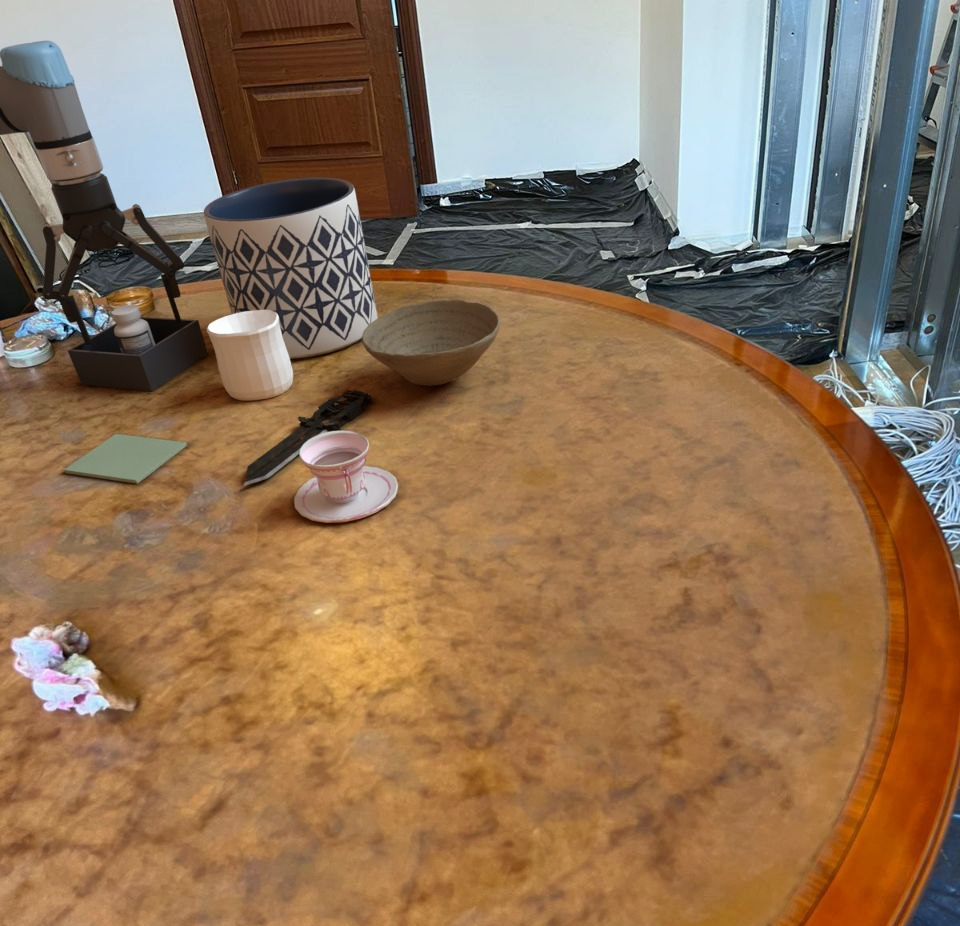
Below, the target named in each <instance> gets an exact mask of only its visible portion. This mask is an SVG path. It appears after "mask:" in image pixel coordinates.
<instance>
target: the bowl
mask: <svg viewBox="0 0 960 926" xmlns="http://www.w3.org/2000/svg"><path fill="white" fill-rule="evenodd" d="M500 327H501V318H500V316H499V314H498V313H497V312H496V311H495V310H494V309H493V308H491V307H490V306H487V305H485V304H481V303H479V302H469V301H468V302H467V301H465V300H460V299H450V300H445V299H439V300H438V299H437V300H428V301H424V302H423V301H422V302H418V303H414V304H409V305H405V306H403V307H399V308H396V309H393V310H391V311H388V312H387V313H384V314H382V315H381V316H378V319H376V320H375V321H373V322H372V323H371V324H370V325H369V326H368V327H367V328H366V329H365V330H364V332H363V336H362V339H361V343H362V345H363V347H364V349H365V351H366V352H367V353H368V354H369V355H370V356H372V357H373V358H374V359H375V360H377V361H378V362H380V363H381V364H383V365H385V366H386V367H387V368H389V369H390V370H392V371H394V372H396V373H397V374H399V375H400V376H402V377H403V378H404V379H406V381H408V382H409V383H412V384H414V385H418V386H428V387H430V386H441V385H445V384H448V383H450V382H452V381H454V380H457V379H459V378H460V377H462V376H463V375H464V374H466V373H467V372H468V371H469V370H470V369H471V368H473V367H474V365H475V364H476V363H477V362H478V361H479V360H480V359H481V357H482V356H483V355H484V354H485V353H486V351H487V350H488V349H489V348H490V346H492V344H493V343H494V342H495V339H496V338H497V335H498V333H499V332H500Z"/></svg>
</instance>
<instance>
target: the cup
mask: <svg viewBox="0 0 960 926" xmlns="http://www.w3.org/2000/svg"><path fill="white" fill-rule="evenodd" d="M206 334H207V335H208V337H209V339H210V341H211V344H212V347H213V350H214V353H215V357H216V363H217V368H218V373H219V376H220V378H221V383H222V385H223V388H224V389H225V391H226V392H227V394H228V395H229V396H230V397H231V398H232V399H235V400H237V401H245V402H247V401H258V400H259V401H260V400H267V399H271V398H275V397H277V396H281V395H283V394H284V393H286V392H288V391H289V390H290V388H291V387H292V386H293V383H294V369H293V366H292V362H291V359H290V358H289V355H288V352H287V349H286V346H285V343H284V340H283V337H282V333H281V329H280V325H279V316H278V314H277V313H276V312H274V311H271V310H254V311H245V312H240V313H235V314H232V313H231V314H229V315H226V316H225V315H224V316H223V317H220V318H217V319H215V320H214V321H211V322H210V323H209V324H208V326H207V328H206Z"/></svg>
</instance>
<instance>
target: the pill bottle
mask: <svg viewBox="0 0 960 926" xmlns="http://www.w3.org/2000/svg"><path fill="white" fill-rule="evenodd" d="M111 316H112V319H113V321H114V324H115V323H117V325H116V326H115V328H114V334H115V337H116V339H117V342H118V345H119V347H120V350H121V353H123V354H135V355H140V354H141V353H143V352H144V351H146V350H148V349H149V348H151V347H152V346H154V345H156V344H155V341H154V339H153V336H152V333H151V330H150V327H149V324H148V323H147V322H146V321H145V320H143V319H140V317H142V313H141V310H140V308H139V306H138V305H135V304H127V305H122V306H119V307H116V308H114V309H113V310H112V311H111Z"/></svg>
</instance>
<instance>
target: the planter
mask: <svg viewBox="0 0 960 926" xmlns="http://www.w3.org/2000/svg"><path fill="white" fill-rule="evenodd" d="M360 215H361V214H360V211H359V205H358V199H357V194H356V189H355V187H354V184H353V183H352V182H350V181H347V180H345V179H340V178H333V177H332V178H331V177H307V178H306V177H305V178H292V179H286V180H278V181H273V182H267V183H263V184H258V185H253V186H249V187H246V188H243V189H238V190H236V191H233V192H229V193H227V194H225V195H222V196H219V197H218V198H216V199H214V200H212V201H211V202H209V203H208V204H206V206H205V207H204V209H203V217H204V221H205V224H206V225H205V226H206V229H207V231H208V236H209V239H210V243H211V246H212V250H213V253H214V257H215V260H216V264H217V267H218V272H219V274H220V278H221V282H222V285H223V289H224V292H225V296H226V300H227V302H228V306H229V310H230V313H231V315H232V314H235V313H240V312H245V311H254V310H271V311H274V312H276V313H277V314H278V316H279V325H280V329H281V333H282V337H283V340H284V343H285V346H286V349H287V352H288V355H289V358H290V360H293V359H294V360H295V359H303V358H304V359H305V358H312V357H317V356H321V355H326V354H329V353H334V352H337V351H339V350H342V349H344V348H347V347H349V346H352V345H354V344H355V343H358V342H359V341H362V336H363V332H364V330H365V329H366V328H367V327H368V326H369V325H370V324H371V323H372V322H373V321H375V320H376V319H378V318H379V315H378V310H377V305H376V300H375V293H374V287H373V283H372V275H371V269H370V264H369V260H368V254H367V248H366V243H365V238H364V232H363V227H362V221H361V216H360Z"/></svg>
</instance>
